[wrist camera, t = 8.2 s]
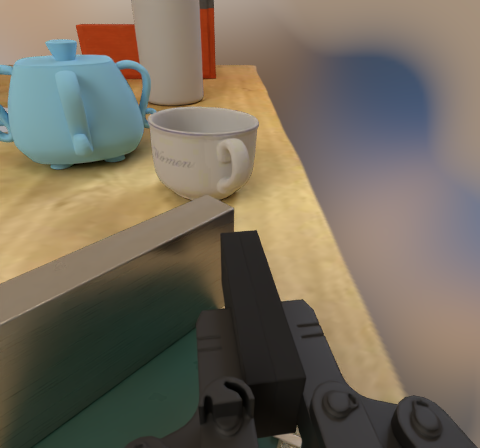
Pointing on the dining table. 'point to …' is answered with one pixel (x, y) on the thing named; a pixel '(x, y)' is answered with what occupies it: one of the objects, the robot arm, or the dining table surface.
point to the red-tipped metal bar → (104, 315)
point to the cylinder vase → (170, 49)
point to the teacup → (203, 150)
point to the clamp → (125, 44)
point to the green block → (145, 405)
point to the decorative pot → (73, 107)
